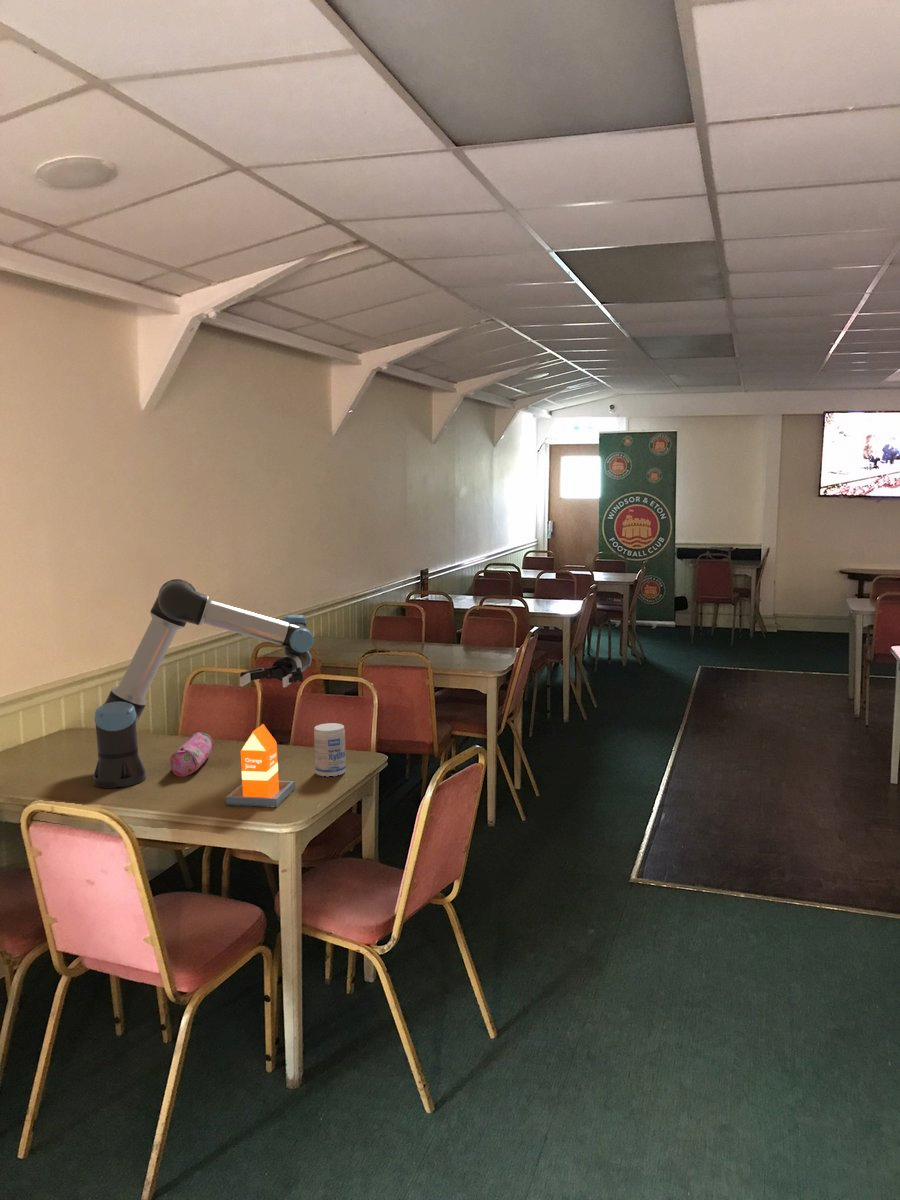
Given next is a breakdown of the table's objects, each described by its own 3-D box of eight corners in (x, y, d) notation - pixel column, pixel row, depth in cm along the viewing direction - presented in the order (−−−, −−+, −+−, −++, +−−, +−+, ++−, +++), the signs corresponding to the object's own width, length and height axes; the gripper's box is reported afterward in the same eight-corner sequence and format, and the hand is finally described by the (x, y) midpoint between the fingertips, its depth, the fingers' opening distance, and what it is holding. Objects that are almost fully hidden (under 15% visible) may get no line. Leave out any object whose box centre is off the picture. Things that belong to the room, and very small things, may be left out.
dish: (226, 805, 259) (225, 796, 259) (246, 787, 274) (246, 779, 273) (277, 807, 256) (276, 798, 256) (295, 789, 271) (294, 781, 271)
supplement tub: (333, 779, 279) (331, 732, 277) (309, 775, 284) (306, 728, 282) (352, 770, 287) (350, 724, 285) (328, 766, 292) (326, 721, 290)
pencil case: (197, 777, 284) (195, 749, 283) (168, 778, 285) (166, 749, 284) (216, 756, 306) (215, 730, 304) (189, 757, 306) (187, 730, 305)
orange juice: (242, 800, 261) (238, 731, 259) (254, 789, 270) (250, 723, 267) (268, 801, 260) (265, 732, 257) (279, 790, 269) (276, 723, 266)
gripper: (324, 679, 297) (302, 695, 276) (250, 678, 301) (224, 693, 280) (323, 656, 296) (301, 670, 275) (249, 656, 300) (222, 669, 279)
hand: (262, 682), depth 278 cm, fingers open, 13 cm apart
